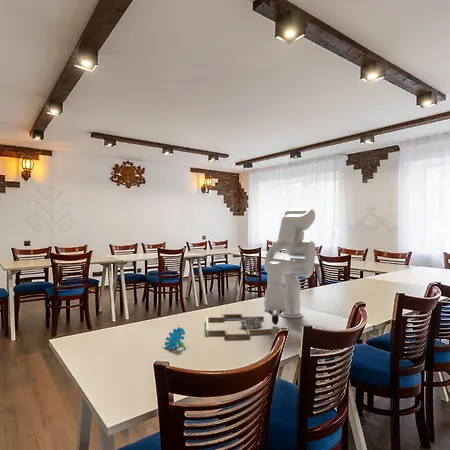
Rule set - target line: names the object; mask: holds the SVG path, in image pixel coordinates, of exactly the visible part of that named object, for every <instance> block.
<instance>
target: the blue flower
mask: <svg viewBox="0 0 450 450" xmlns="http://www.w3.org/2000/svg"><path fill="white" fill-rule="evenodd" d="M185 334H186V331H185V329H184V328H183V327H180V326H177V328H173V329H172V331H170V332H169V333H168V335H169V336H166V337H165V340H166V341H165V342H164V345H165V348H166V350H170V351H172V350H173V349H177V348H178V346H179V347H180V348H183V349H184V350H187V347H186V346H185V345H184V344H185V343H184V342H183V341H184V339H185V336H184V335H185ZM182 340H183V341H182Z"/></svg>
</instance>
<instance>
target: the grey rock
mask: <svg viewBox="0 0 450 450" xmlns="http://www.w3.org/2000/svg"><path fill="white" fill-rule="evenodd" d="M250 317H251V318H249V319H248V318H247V319H246V320H241V321H239V324H240V325H241V326H240V327H241V329H246V330H250V329H257V328H260V327H262V323H263V322H264V321H263V320H262V321H261V320H260V319H258V318H255V317H254V316H250Z"/></svg>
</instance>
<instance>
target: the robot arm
mask: <svg viewBox="0 0 450 450" xmlns="http://www.w3.org/2000/svg"><path fill="white" fill-rule="evenodd" d="M315 220H316V212H315V210H314V209H312V208H289V209H287V210H285V211H284V216H283V217H282V218H281V222H280V227H279V232H278V236H277V237H278V238H277V241H276V242H273V244H272V245H271V246H270V247H269V249H268V250H267V252H266V255H265V260H264V270H265V272H266V274H267V276H266V277H267V286H266V287H267V288H266V289H265V290H264V292H265V293H264V300H263V301H264V303H263V305H264V312H265V313H269V315H270V316H271V322H272V324H273V325H274V326H275V325H276V326H277V325H278V323H279V319H280V318H279V317H280V316H281V317H283V318H288V319H298V318H303V316H304V313H303V312H302V311H301V282H300V280H299V278H298V277H311V276H312V275H313V272H314V268H315V259H316V251H317V250H316V248H317V247H316V244H315V242H314V241H312V240H308V239H304V238H305V237H304V236H305V231H307V230H308V229H309V228H310V227H311V226H312V224H314V222H315ZM285 249H286V254H287V255H288V256H289V257H286V258H284V259H274V258H275V256H276V255H277V254H278V253H279V252H280V251H282V250H285Z"/></svg>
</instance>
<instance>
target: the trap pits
mask: <svg viewBox="0 0 450 450" xmlns="http://www.w3.org/2000/svg"><path fill="white" fill-rule="evenodd" d="M231 321H232V322H233V321H237V322H238V321H239V322H240V321H241V318H225V321H224V322H231Z"/></svg>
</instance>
